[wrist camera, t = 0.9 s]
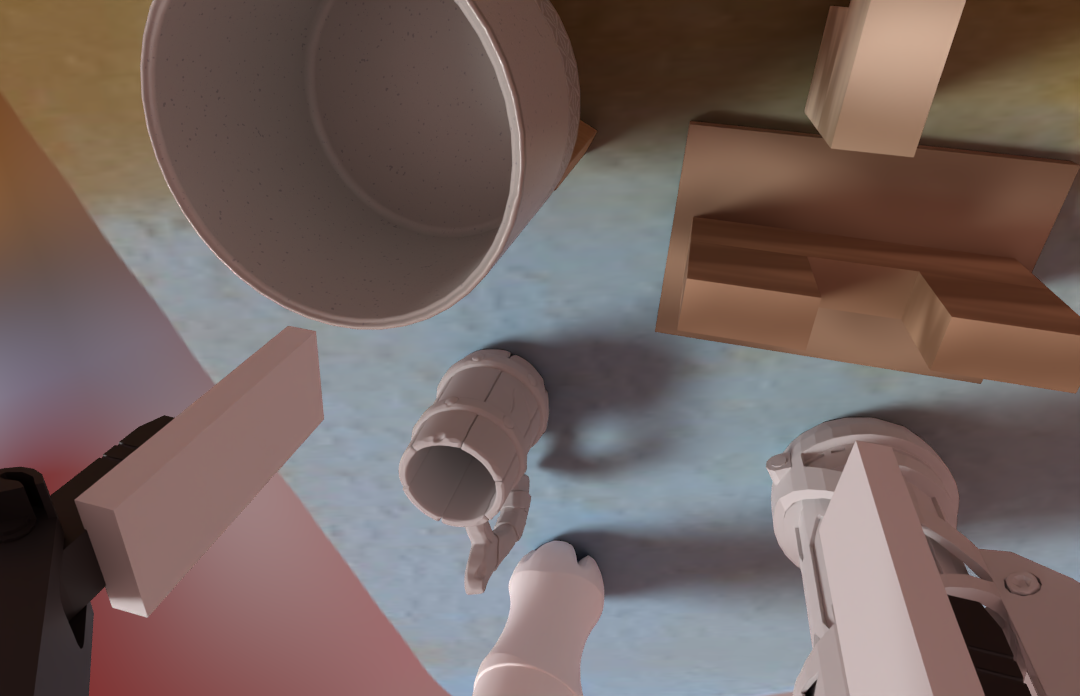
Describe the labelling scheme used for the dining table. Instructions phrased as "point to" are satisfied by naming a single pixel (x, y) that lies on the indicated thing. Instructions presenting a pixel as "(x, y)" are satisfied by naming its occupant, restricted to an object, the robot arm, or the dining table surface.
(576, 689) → the water bottle
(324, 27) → the planter
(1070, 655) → the lantern
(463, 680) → the dining table surface
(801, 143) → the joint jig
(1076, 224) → the dining table surface
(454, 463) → the mug
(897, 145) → the notched wooden board
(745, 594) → the dining table surface
